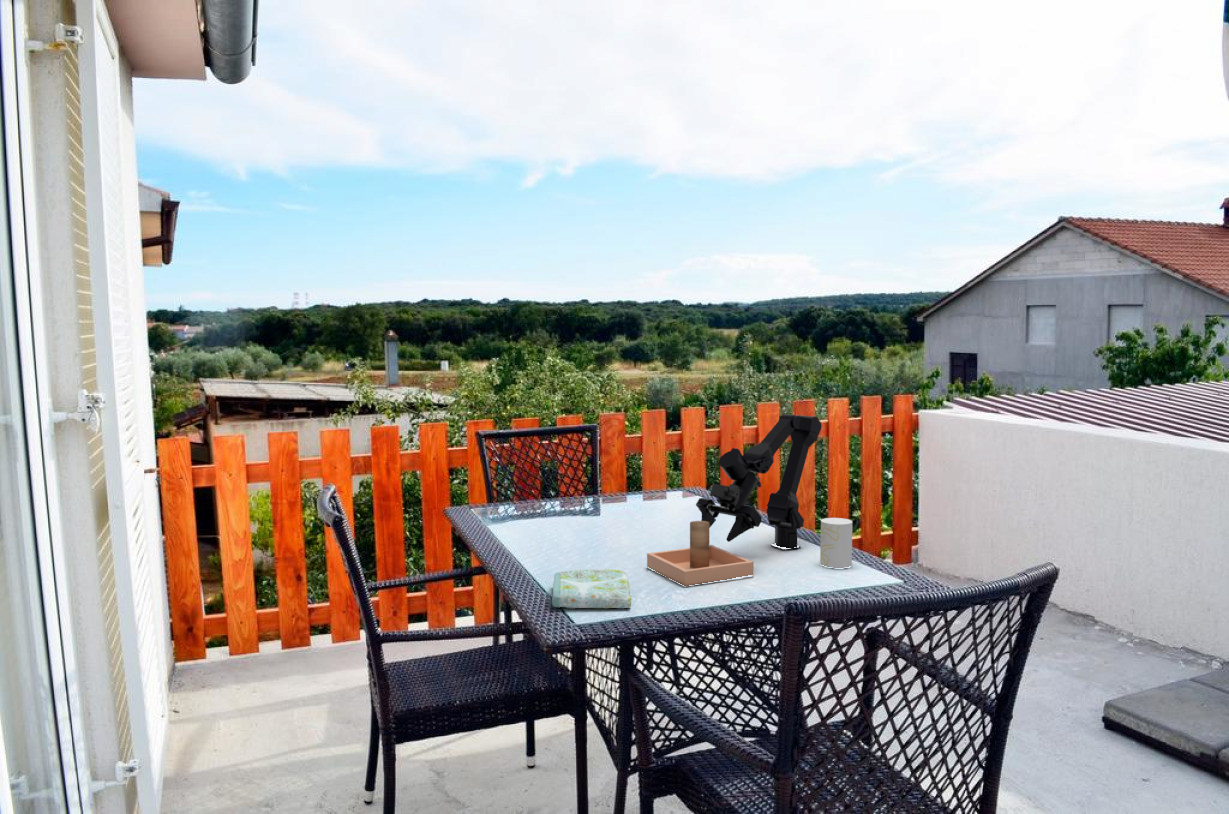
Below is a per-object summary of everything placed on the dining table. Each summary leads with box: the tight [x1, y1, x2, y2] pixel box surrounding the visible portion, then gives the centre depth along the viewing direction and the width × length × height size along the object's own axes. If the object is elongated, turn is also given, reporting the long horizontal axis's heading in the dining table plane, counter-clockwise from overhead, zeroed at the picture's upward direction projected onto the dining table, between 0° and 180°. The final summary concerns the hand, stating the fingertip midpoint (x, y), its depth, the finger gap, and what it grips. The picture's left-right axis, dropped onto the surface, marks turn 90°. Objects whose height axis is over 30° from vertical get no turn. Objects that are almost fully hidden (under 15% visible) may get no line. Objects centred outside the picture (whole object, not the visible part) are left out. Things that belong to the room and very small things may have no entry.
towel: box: [551, 568, 632, 609], centre depth 221 cm, size 18×21×5 cm
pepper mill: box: [689, 520, 710, 569], centre depth 242 cm, size 5×5×12 cm
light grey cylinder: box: [819, 517, 853, 568], centre depth 248 cm, size 8×8×12 cm
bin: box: [646, 544, 755, 586], centre depth 242 cm, size 20×20×4 cm
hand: (713, 537), depth 246 cm, fingers open, 9 cm apart
